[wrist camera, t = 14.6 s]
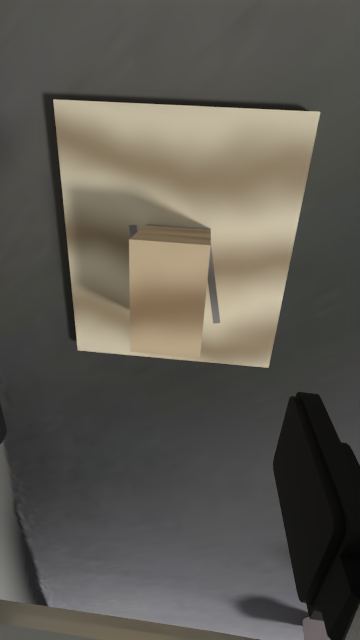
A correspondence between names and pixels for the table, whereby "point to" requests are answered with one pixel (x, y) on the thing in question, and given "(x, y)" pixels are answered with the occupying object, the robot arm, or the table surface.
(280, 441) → the robot arm
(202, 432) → the table surface
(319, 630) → the smoothie
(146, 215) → the board
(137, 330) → the block
